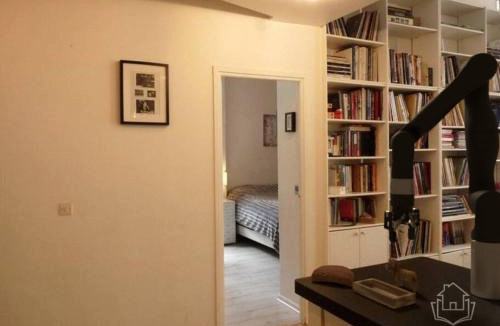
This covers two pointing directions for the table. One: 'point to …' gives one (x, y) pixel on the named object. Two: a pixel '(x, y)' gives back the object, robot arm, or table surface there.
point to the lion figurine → (402, 275)
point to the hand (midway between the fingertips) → (402, 241)
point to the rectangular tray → (384, 293)
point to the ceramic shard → (333, 275)
